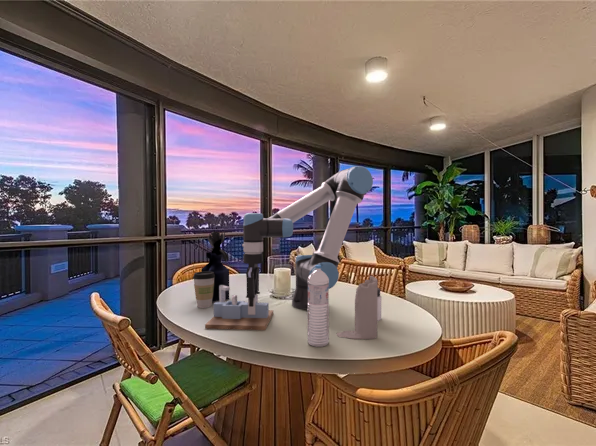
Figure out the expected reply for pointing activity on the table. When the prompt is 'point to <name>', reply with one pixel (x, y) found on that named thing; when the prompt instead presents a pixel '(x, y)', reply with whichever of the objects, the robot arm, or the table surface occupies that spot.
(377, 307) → the jar
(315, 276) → the water bottle
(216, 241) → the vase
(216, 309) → the link
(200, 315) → the table surface
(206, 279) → the coffee cup
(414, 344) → the table surface
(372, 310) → the metal bookend
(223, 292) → the bracket
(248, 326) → the board
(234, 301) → the pintle
